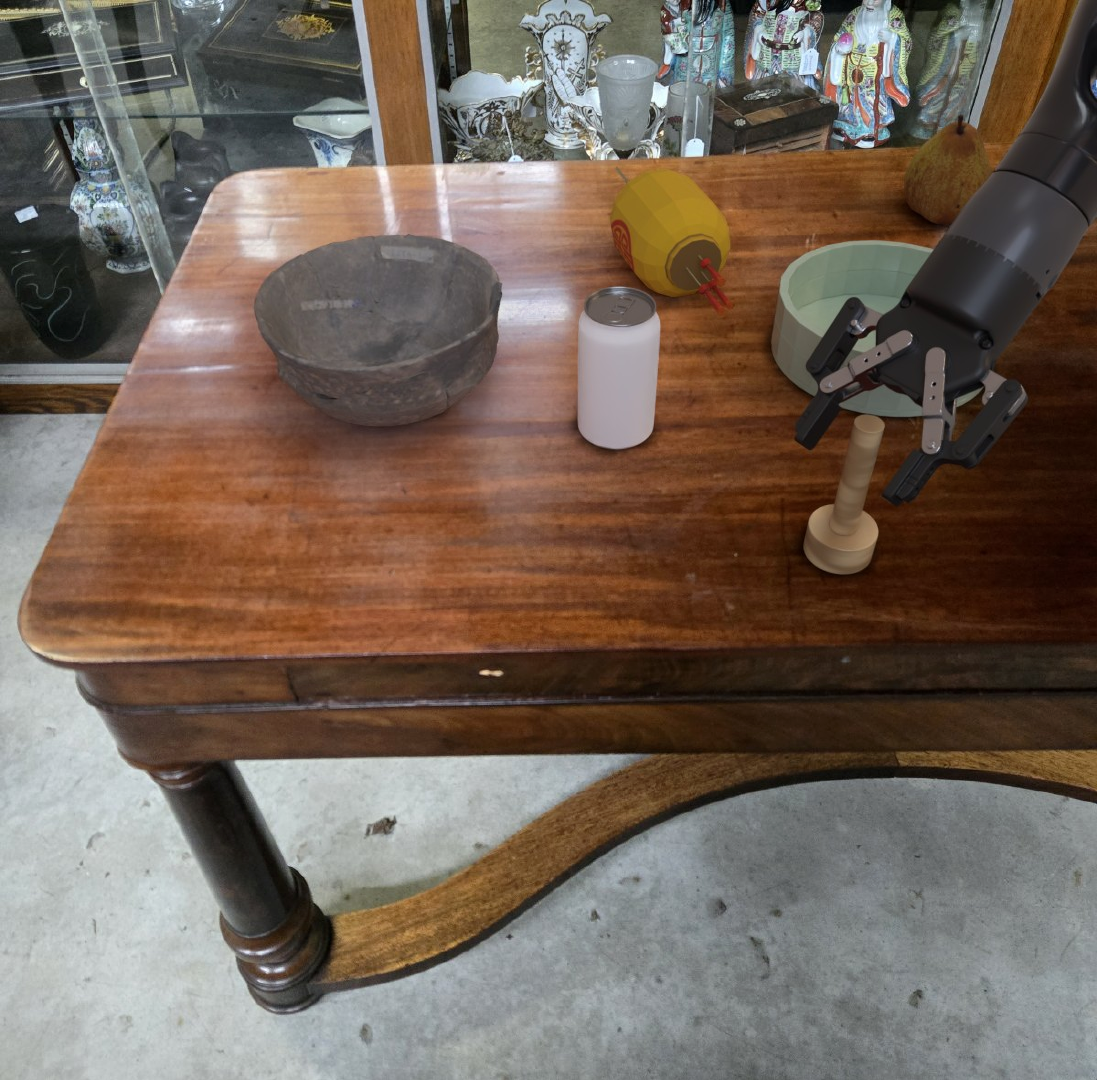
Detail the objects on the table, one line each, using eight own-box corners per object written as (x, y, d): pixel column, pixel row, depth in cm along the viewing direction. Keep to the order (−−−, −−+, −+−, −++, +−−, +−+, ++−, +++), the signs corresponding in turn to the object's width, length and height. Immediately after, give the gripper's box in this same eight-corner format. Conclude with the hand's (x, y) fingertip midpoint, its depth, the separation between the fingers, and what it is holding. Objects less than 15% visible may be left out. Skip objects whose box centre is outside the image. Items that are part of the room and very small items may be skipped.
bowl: (226, 406, 91) (198, 307, 84) (388, 304, 103) (375, 210, 96) (398, 499, 82) (382, 397, 75) (555, 376, 94) (553, 278, 87)
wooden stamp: (879, 540, 78) (916, 412, 70) (861, 583, 75) (897, 455, 67) (814, 519, 80) (843, 393, 71) (794, 561, 77) (821, 433, 68)
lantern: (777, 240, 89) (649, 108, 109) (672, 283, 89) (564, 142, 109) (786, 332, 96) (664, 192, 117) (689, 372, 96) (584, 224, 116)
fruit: (942, 190, 119) (971, 82, 110) (997, 224, 113) (1031, 113, 104) (880, 205, 116) (904, 96, 108) (933, 241, 110) (962, 129, 102)
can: (566, 441, 87) (565, 318, 79) (592, 398, 91) (595, 277, 83) (639, 459, 85) (646, 335, 77) (663, 414, 90) (672, 292, 81)
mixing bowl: (1008, 325, 99) (1027, 268, 94) (964, 441, 86) (985, 382, 82) (807, 278, 105) (817, 223, 101) (741, 380, 93) (749, 322, 89)
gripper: (888, 197, 69) (745, 407, 72) (1087, 284, 61) (915, 517, 64) (920, 245, 75) (786, 437, 78) (1104, 329, 67) (946, 540, 70)
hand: (844, 472), depth 71 cm, fingers open, 7 cm apart
